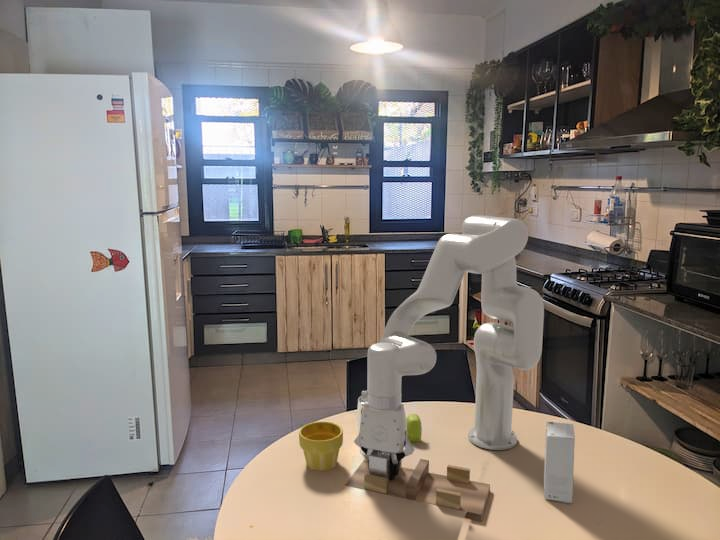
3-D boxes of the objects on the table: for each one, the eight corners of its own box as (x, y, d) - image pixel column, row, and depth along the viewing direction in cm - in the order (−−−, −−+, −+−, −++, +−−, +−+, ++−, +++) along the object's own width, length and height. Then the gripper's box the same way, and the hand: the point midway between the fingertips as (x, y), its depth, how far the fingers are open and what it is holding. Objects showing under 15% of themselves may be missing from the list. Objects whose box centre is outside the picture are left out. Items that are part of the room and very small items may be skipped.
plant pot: (302, 482, 129) (301, 442, 127) (297, 460, 139) (296, 422, 137) (346, 477, 131) (346, 438, 129) (339, 456, 141) (338, 419, 139)
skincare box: (572, 504, 120) (577, 439, 118) (542, 499, 122) (546, 435, 119) (570, 484, 128) (574, 422, 126) (542, 479, 130) (546, 419, 127)
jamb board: (363, 465, 136) (364, 448, 135) (489, 490, 125) (490, 472, 125) (344, 491, 125) (344, 472, 124) (481, 521, 114) (481, 501, 114)
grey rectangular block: (380, 467, 132) (381, 439, 131) (397, 470, 131) (397, 442, 130) (369, 485, 125) (369, 455, 124) (386, 488, 123) (386, 459, 122)
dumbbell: (358, 449, 144) (358, 423, 143) (358, 435, 152) (358, 410, 151) (422, 449, 144) (423, 423, 143) (419, 435, 152) (419, 410, 151)
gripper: (342, 399, 124) (343, 476, 127) (416, 411, 118) (414, 491, 121) (355, 387, 131) (355, 460, 134) (425, 398, 125) (423, 474, 128)
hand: (383, 474), depth 128 cm, fingers closed on grey rectangular block, 4 cm apart
